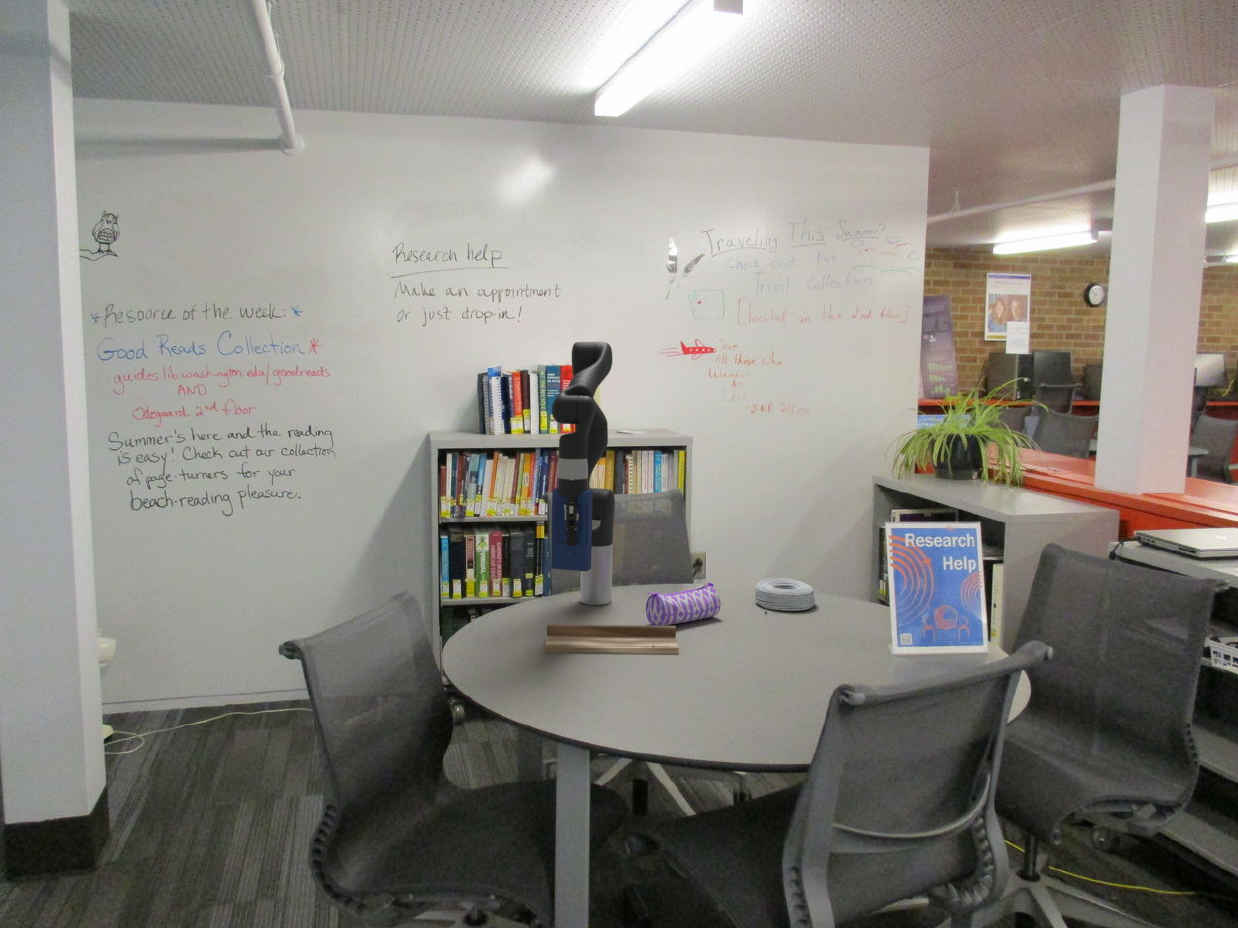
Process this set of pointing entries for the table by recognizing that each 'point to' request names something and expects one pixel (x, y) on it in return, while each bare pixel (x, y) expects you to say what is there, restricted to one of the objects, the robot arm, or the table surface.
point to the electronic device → (581, 552)
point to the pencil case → (683, 606)
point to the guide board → (612, 639)
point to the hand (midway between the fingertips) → (571, 542)
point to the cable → (784, 594)
